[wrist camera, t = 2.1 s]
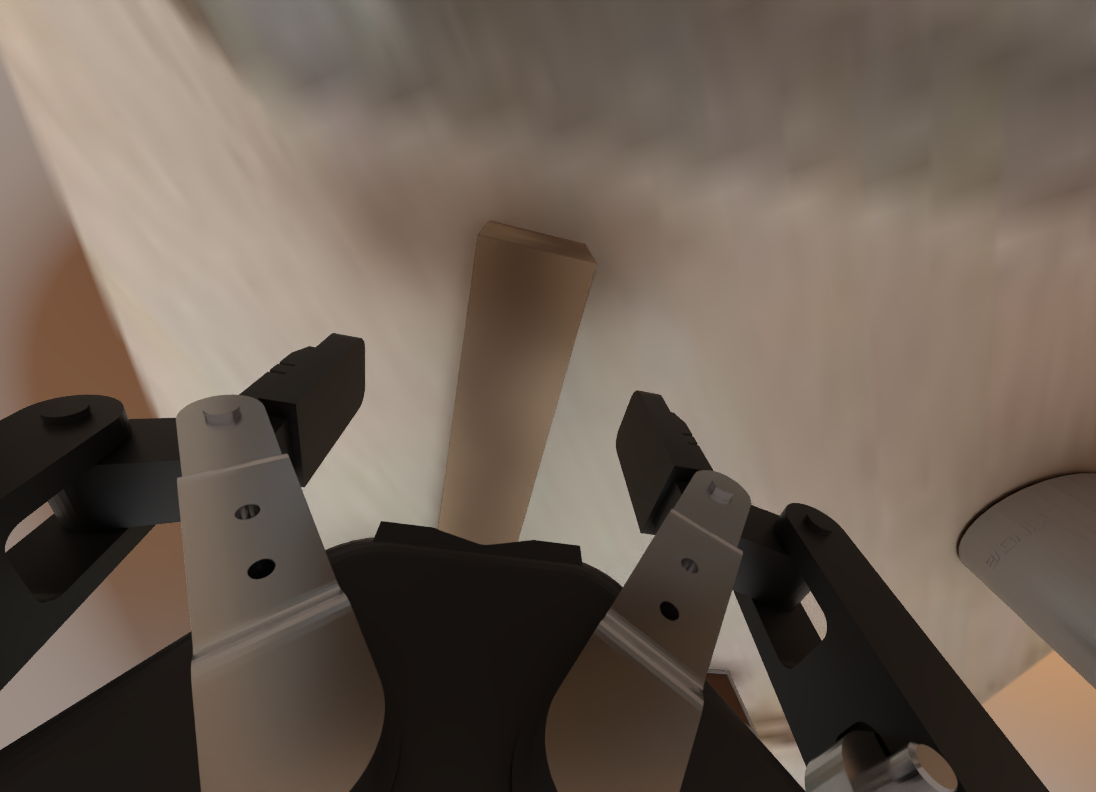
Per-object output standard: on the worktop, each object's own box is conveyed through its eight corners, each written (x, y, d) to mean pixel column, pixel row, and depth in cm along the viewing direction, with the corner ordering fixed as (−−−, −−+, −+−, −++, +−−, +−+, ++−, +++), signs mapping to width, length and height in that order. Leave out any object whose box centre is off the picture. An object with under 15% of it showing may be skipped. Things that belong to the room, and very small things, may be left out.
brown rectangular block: (584, 243, 17) (596, 263, 13) (503, 552, 27) (497, 610, 23) (490, 220, 16) (477, 235, 13) (442, 544, 26) (428, 602, 23)
